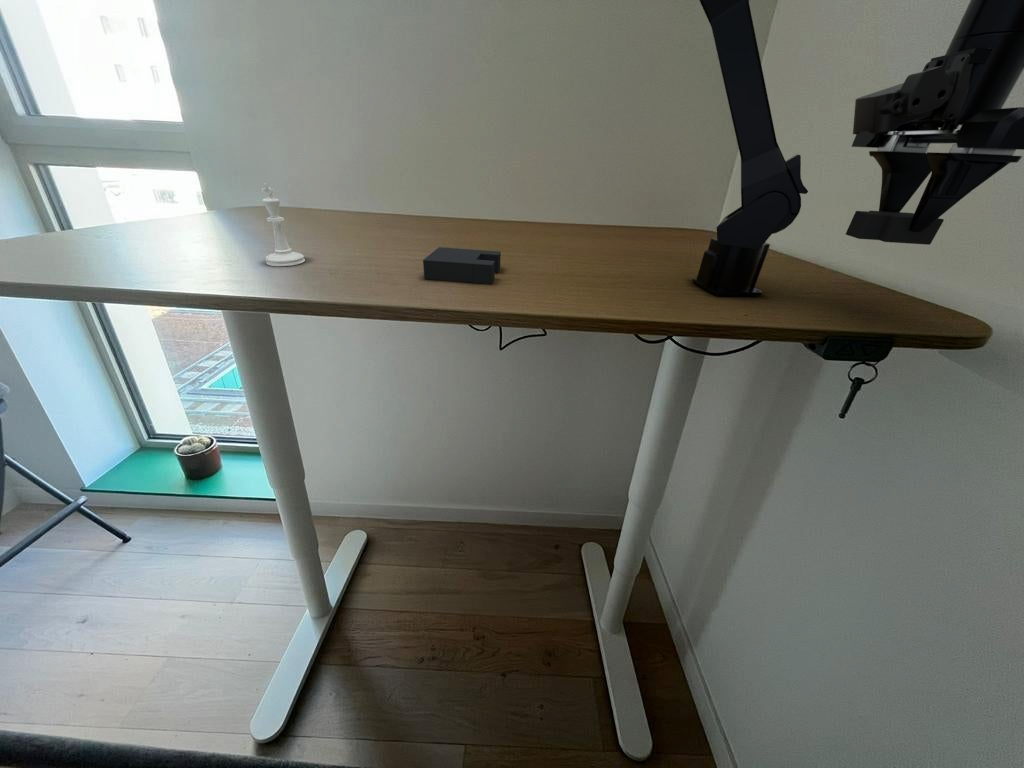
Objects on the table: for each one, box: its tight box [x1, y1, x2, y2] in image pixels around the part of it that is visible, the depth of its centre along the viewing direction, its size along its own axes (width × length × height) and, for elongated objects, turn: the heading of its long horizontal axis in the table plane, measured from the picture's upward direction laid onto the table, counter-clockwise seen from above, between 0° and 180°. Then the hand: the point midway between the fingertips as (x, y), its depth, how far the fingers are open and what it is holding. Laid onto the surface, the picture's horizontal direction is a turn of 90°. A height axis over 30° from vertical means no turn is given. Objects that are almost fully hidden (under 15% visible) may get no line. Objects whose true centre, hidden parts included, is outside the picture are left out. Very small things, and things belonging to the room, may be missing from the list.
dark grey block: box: [845, 210, 945, 246], centre depth 43 cm, size 6×4×2 cm
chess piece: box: [260, 182, 306, 267], centre depth 54 cm, size 5×5×10 cm
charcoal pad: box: [422, 246, 502, 285], centre depth 54 cm, size 9×8×2 cm
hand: (898, 227), depth 43 cm, fingers closed on dark grey block, 4 cm apart
